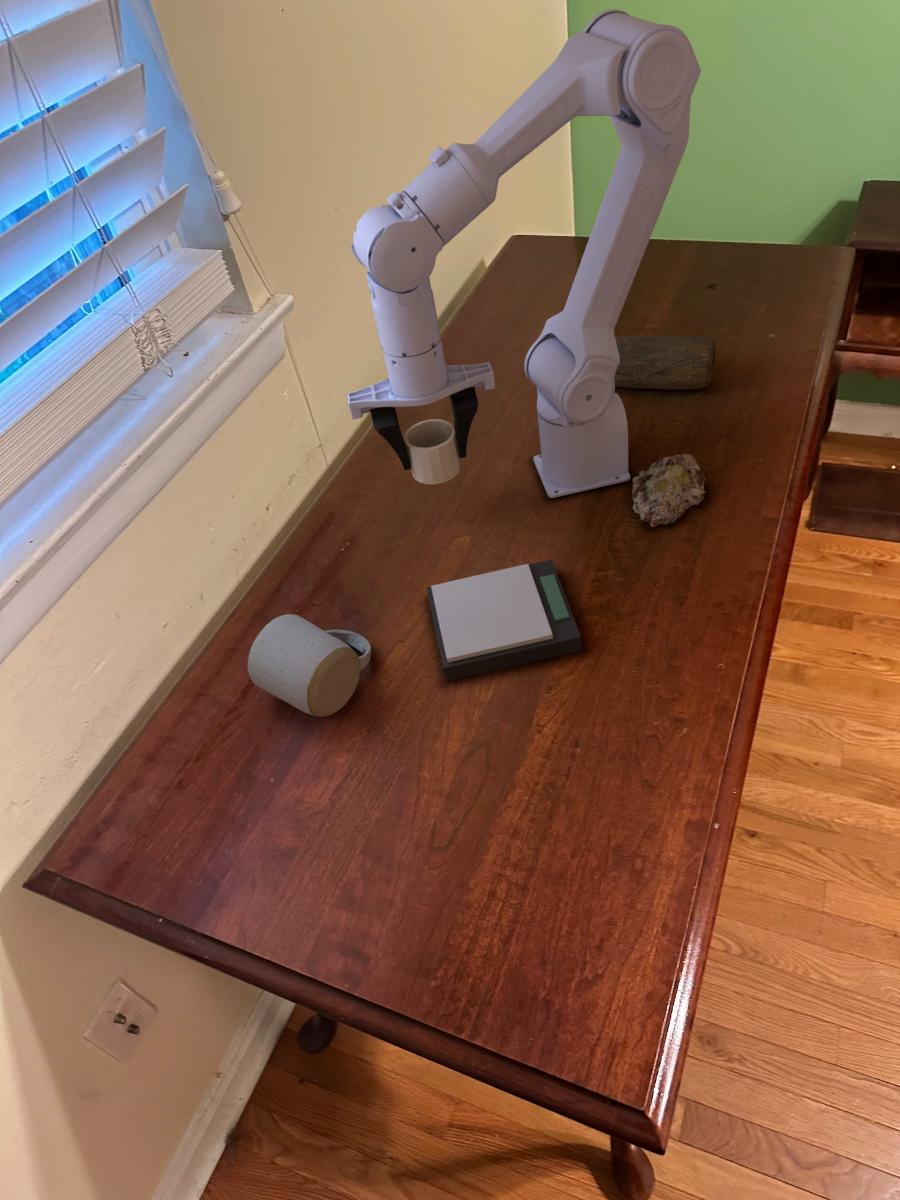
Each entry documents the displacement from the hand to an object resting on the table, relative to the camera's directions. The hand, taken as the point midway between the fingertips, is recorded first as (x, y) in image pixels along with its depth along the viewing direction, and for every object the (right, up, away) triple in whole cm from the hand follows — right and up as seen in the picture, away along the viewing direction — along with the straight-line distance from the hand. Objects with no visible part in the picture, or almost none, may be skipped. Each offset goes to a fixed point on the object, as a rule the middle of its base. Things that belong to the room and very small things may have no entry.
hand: (434, 458), depth 90 cm
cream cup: (0, -1, +1) cm, 1 cm away
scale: (+7, -17, -7) cm, 20 cm away
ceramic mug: (-10, -23, -8) cm, 26 cm away
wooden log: (+27, +12, +18) cm, 35 cm away
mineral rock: (+25, -4, +3) cm, 26 cm away
